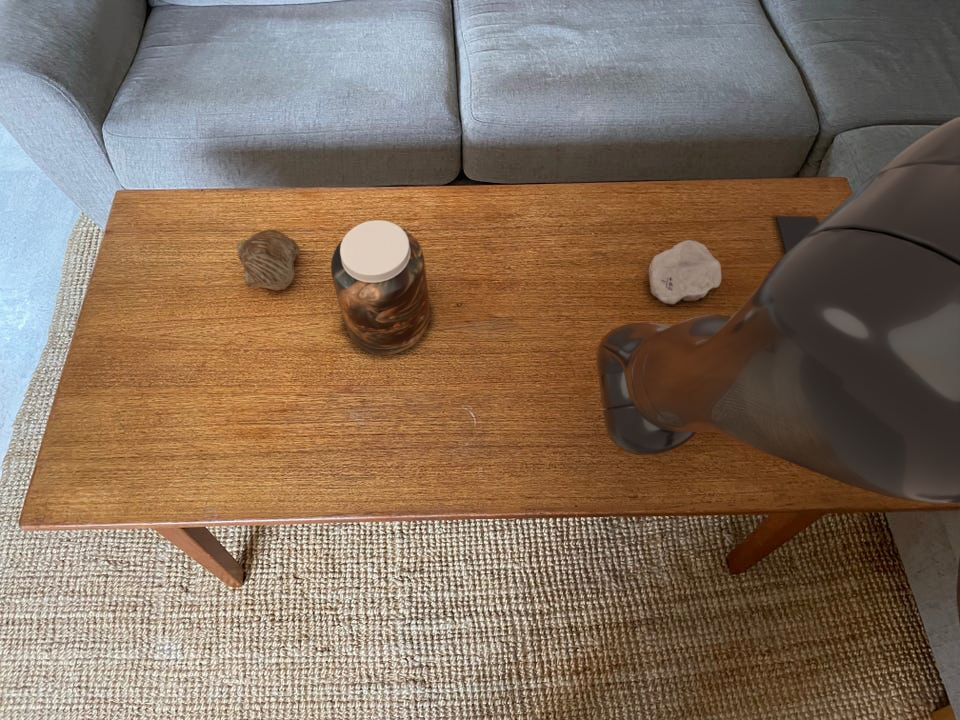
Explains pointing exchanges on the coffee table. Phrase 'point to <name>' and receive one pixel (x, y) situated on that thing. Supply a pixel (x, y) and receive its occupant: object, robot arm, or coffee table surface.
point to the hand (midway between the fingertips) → (742, 383)
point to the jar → (381, 287)
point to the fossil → (684, 273)
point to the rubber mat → (794, 229)
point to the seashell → (268, 259)
